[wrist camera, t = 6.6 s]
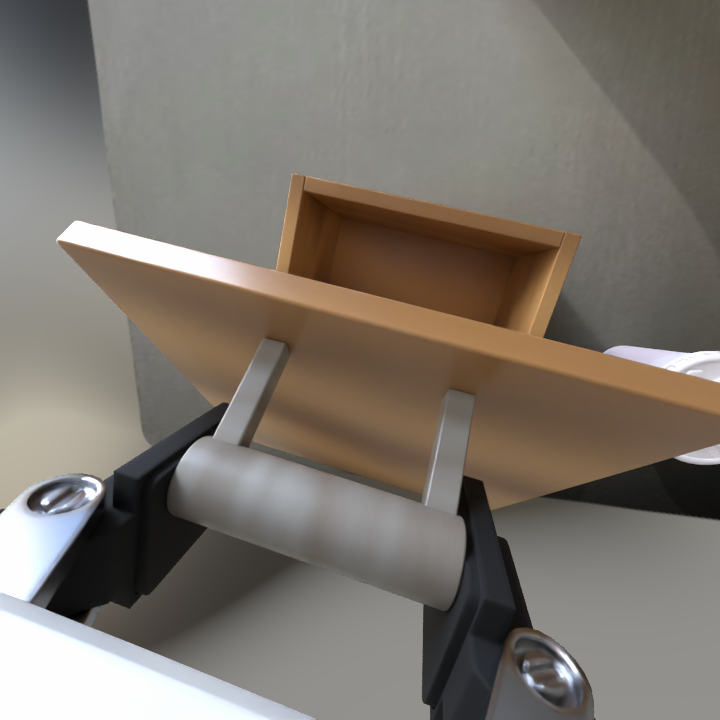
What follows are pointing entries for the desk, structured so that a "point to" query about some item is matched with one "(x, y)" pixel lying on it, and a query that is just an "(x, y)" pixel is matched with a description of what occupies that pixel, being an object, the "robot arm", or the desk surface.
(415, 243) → the box
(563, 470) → the box lid
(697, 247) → the desk surface
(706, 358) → the smoothie
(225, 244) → the desk surface
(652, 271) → the desk surface
